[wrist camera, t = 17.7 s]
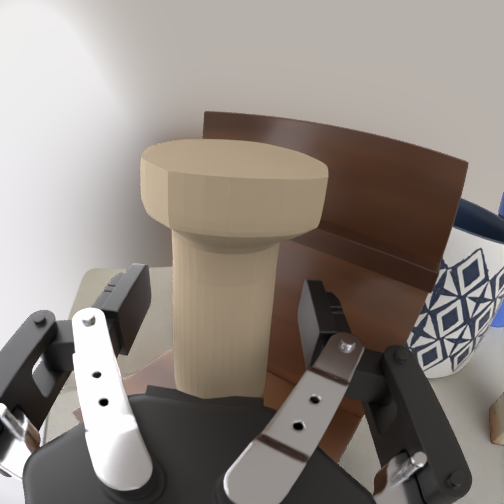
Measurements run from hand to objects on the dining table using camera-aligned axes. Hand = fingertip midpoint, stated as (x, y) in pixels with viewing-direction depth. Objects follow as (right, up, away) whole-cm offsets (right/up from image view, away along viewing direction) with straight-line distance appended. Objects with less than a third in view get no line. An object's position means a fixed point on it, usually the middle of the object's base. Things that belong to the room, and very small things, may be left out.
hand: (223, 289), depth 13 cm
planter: (+22, -8, +21) cm, 31 cm away
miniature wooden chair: (-1, -14, +5) cm, 15 cm away
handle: (-1, -9, +1) cm, 9 cm away
